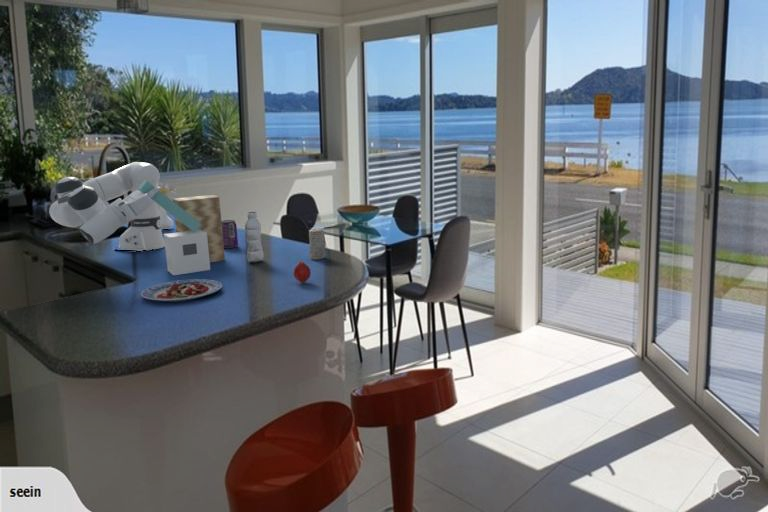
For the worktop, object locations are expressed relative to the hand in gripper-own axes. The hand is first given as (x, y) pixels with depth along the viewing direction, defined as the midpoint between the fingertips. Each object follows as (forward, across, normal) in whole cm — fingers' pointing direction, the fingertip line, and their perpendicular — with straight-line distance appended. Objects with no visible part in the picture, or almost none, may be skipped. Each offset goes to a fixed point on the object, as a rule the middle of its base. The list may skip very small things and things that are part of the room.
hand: (155, 188), depth 244 cm
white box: (-8, 0, -33) cm, 34 cm away
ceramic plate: (-18, +35, -28) cm, 48 cm away
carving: (+33, +14, -57) cm, 67 cm away
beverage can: (+15, -35, -47) cm, 60 cm away
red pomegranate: (+15, +47, -46) cm, 68 cm away
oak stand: (-1, -14, -37) cm, 40 cm away
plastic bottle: (+14, +3, -46) cm, 48 cm away
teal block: (-2, -1, -9) cm, 9 cm away
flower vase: (+4, -108, -40) cm, 115 cm away
